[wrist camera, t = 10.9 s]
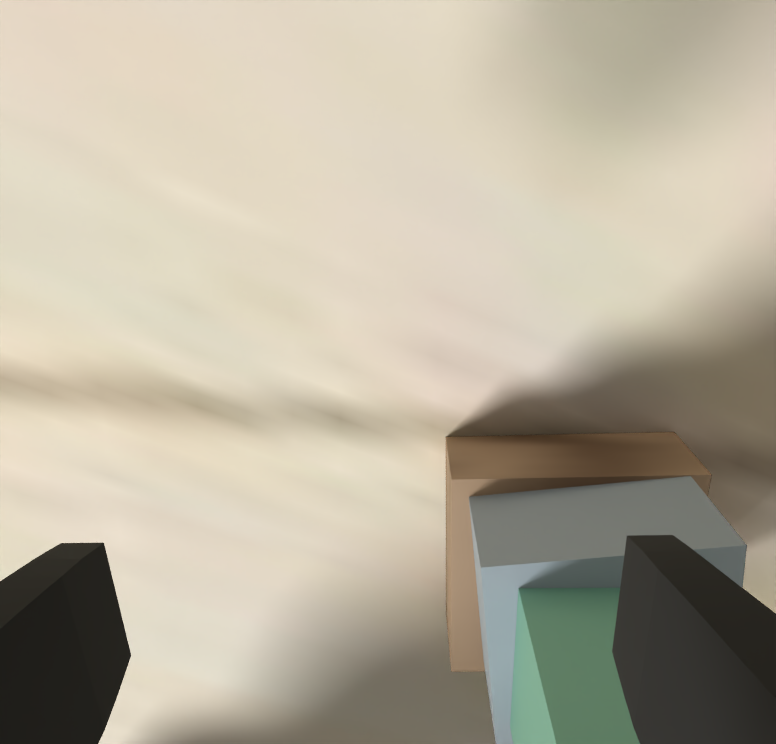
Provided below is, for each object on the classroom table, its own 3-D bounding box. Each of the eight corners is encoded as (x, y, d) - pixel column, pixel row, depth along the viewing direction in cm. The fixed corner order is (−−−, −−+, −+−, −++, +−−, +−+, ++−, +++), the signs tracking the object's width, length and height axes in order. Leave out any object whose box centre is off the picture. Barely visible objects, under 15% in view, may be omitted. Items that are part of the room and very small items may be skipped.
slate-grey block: (483, 659, 20) (496, 749, 17) (468, 496, 17) (480, 567, 15) (680, 645, 19) (727, 734, 16) (690, 475, 17) (746, 544, 14)
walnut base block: (445, 603, 23) (451, 671, 20) (444, 429, 20) (451, 479, 17) (642, 601, 22) (676, 669, 20) (668, 424, 20) (711, 474, 17)
